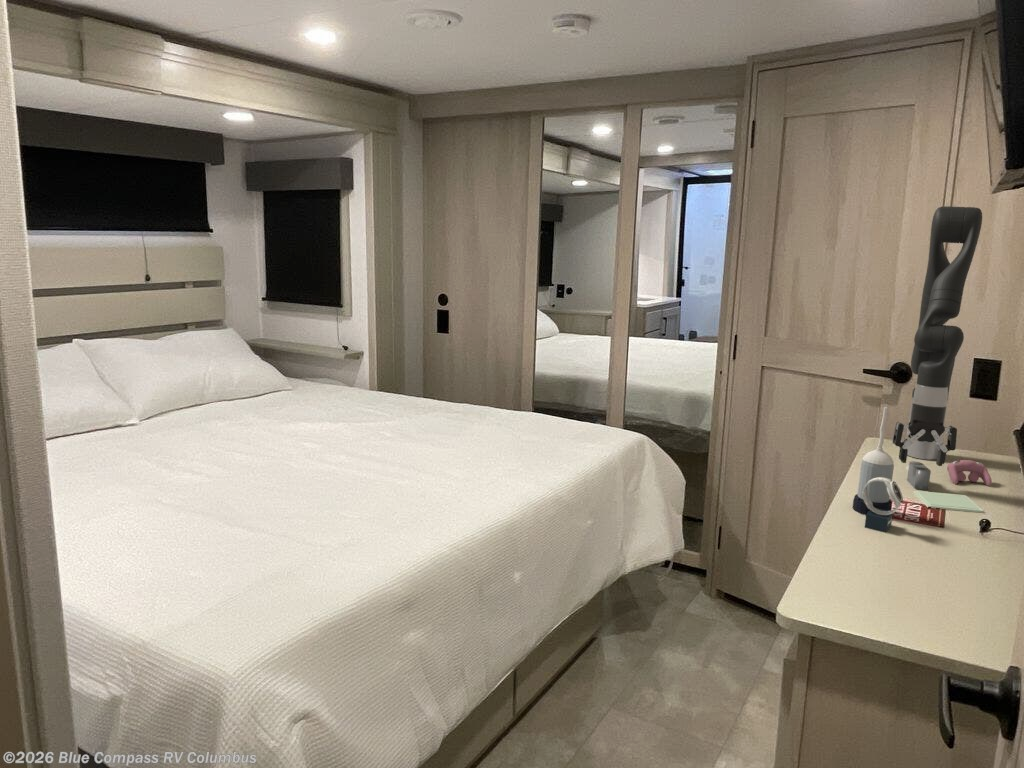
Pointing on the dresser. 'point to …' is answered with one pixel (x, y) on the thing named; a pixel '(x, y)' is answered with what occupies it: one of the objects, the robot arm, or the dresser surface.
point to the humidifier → (875, 476)
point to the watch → (879, 517)
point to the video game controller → (971, 466)
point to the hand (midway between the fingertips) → (920, 463)
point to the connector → (918, 475)
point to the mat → (948, 501)
